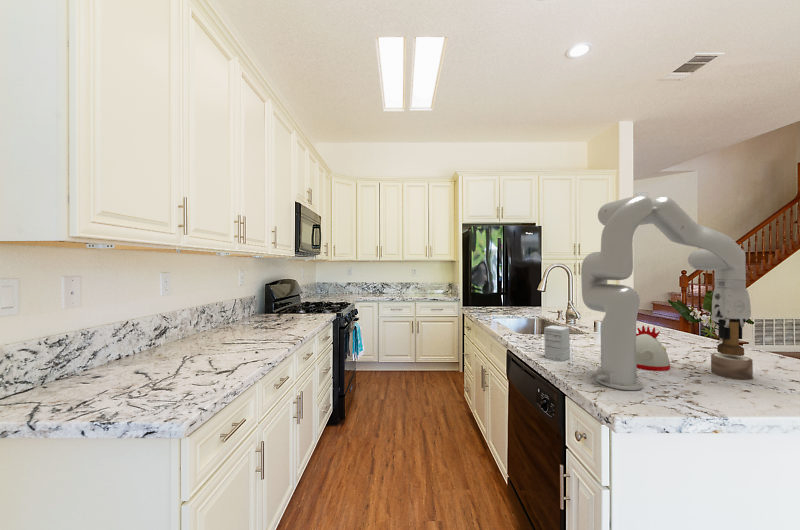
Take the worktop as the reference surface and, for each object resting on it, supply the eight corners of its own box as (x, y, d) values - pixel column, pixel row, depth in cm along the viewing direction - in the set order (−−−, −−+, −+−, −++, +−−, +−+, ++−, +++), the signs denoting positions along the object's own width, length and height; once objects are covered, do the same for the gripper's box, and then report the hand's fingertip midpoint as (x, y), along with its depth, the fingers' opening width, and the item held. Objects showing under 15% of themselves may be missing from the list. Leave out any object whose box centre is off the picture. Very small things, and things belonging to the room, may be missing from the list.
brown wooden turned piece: (746, 357, 107) (745, 302, 107) (719, 354, 111) (718, 301, 111) (741, 352, 113) (741, 300, 113) (715, 349, 117) (715, 299, 117)
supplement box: (552, 354, 139) (551, 324, 140) (570, 358, 134) (570, 327, 134) (544, 357, 135) (543, 327, 135) (562, 361, 129) (562, 329, 129)
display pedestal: (735, 380, 106) (734, 361, 106) (703, 370, 116) (703, 353, 116) (761, 378, 108) (761, 360, 108) (727, 369, 118) (727, 352, 118)
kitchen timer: (666, 373, 114) (665, 330, 114) (619, 365, 124) (619, 325, 124) (673, 365, 123) (672, 325, 123) (629, 358, 133) (628, 321, 133)
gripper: (720, 285, 107) (720, 341, 107) (764, 285, 109) (764, 340, 109) (697, 284, 115) (697, 336, 115) (738, 284, 117) (739, 335, 117)
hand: (730, 337), depth 112 cm, fingers closed on brown wooden turned piece, 3 cm apart
